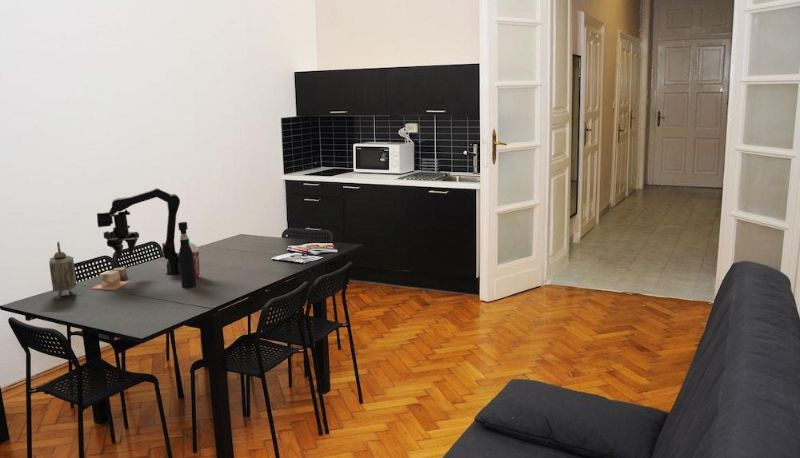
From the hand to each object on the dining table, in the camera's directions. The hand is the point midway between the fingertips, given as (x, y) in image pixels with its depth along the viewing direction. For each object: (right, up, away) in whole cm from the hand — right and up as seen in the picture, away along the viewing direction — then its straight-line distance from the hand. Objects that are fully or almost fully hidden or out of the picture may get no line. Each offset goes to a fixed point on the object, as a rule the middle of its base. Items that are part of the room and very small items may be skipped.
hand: (125, 256), depth 337 cm
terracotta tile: (-3, -14, -9) cm, 17 cm away
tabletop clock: (-18, -17, -23) cm, 34 cm away
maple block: (-3, -13, -10) cm, 17 cm away
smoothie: (+33, -11, -1) cm, 34 cm away
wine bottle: (+35, -14, -15) cm, 41 cm away
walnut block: (-4, -11, +4) cm, 13 cm away
